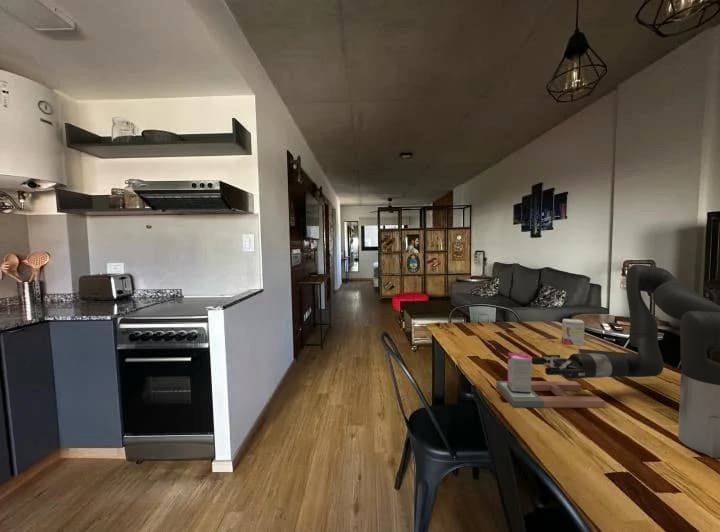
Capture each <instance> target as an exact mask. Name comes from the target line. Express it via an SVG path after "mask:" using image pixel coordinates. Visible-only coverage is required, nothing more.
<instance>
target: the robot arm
mask: <svg viewBox="0 0 720 532" xmlns="http://www.w3.org/2000/svg"><path fill="white" fill-rule="evenodd" d="M625 275H626V276H625V289H626V290H625V291H626V298H627V299H626V300H627V304H628V310H629V335H628V336H629V337H628V341H629V344H630V345H631V346H632V347H634V348H637V352H638V353H634V354H635V355H624V356H620V355H616V354H580V353H572V354H570V355H569V357H568V358H566V357H561V355H560V354H541V357H540V356H539V357H532V358H531V359H532V365H534V366H535V365H537V366H539V365H545V366H546V367H545V369H544V370H545V372H544V373H545V375H547V376H560V377H564V378H565V379H566V380H567V379H570V380H571V379H573V380H574V379H593V378H594V379H600V378H601V379H603V378H619V377H626V378H642V377H643V378H644V377H645V378H647V377H657V376H659V375H660V374H662V372H663V371H664V368H665V367H664V365H665V363H664V362H665V361H664V360H663V356H662V352H661V350H660V347H659V344H658V340H659V336H658V335H659V326H658V325H659V324H658V322H657V319H656V318H655V315H654V314H653V313H652V311H651V309H650V308H649V307H648V306H647V304H646V303H645V301H644V299H643V297H642V292H645V293H648V294H649V293H650V294H652V299H653V302H654V304H655V305H656V306H657V307H658V308H659V309H660V311H662V312H663V313H664V314H665V315H667V316H669V317H670V318H673V319H675V320H677V321H680V323H679V324H680V325H679V340H680V343H679V344H680V354H679V355H680V365H681V366H680V367H681V368H680V369H681V370H680V388H679V389H680V390H679V406H678V407H679V409H678V410H679V411H678V429H677V430H678V432H677V438H678V440H679V442H681V443H682V444H683V445H685V446H686V447H688V448H689V449H692V450H694V451H696V452H699V453H702V454H704V455H707V456H708V457H710V458H711V459H713V458H714V459H715V458H716V459H717V458H718V459H719V458H720V362H717V361H714V360H712V359H710V358H708V355H707V351H710V352H720V305H718V304H716V303H714V302H713V301H711V300H710V299H708V298H706V297H704V295H703V296H702V295H701V294H700V293H698V292H697V291H695V290H694V289H692V288H691V287H690V286H687V285H685V283H683V282H681V281H679V280H678V279H677V278H676V277H675V276H674V275H673V274H672V273H671V272H670V271H669V270H667V269H665V268H662V267H657V266H650V265H646V264H637V263H636V264H633V265H631V266H630V267H629V269H628V270H627V272H626V274H625ZM548 366H549V367H548Z"/></svg>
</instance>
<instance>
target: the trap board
mask: <svg viewBox="0 0 720 532" xmlns="http://www.w3.org/2000/svg"><path fill="white" fill-rule="evenodd" d="M581 387H582V385H581V384H580V383H578V382H577V381H576V380H555V381H554V380H550V381H549V380H545V381H544V380H539V381H538V380H536V381H535V380H531V393H530V394H526V393H512V392H511V390H510V389H509V387H508V386H507V380H497V381H496V388H497V389H498V391H500V393H501V394H502V395H503V396H504V397H505V398H506V400H507V401H508V402H509V404H510V405H512V407H513V408H586V409H587V408H593V409H594V408H598V409H599V408H602V409H603V408H605V403H606V401H605V400H603V399H602V398H600V397H599V396H598V395H597V396H594V395H593V396H592V395H590V396H585V395H584V396H583V395H582V396H579V395H577V396H575V395H574V396H572V395H570V394H569V393H568V391H569V392H570V391H571V392H572V391H575V392H580V391H581V390H582V388H581ZM536 391H537V392H541V391H542V392H543V391H545V392H547V391H549V392H551V393H553V394H554V396H550V395H549V396H547V395H545V396H540V395H538V394H537V393H536Z"/></svg>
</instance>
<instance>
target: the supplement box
mask: <svg viewBox="0 0 720 532" xmlns="http://www.w3.org/2000/svg"><path fill="white" fill-rule="evenodd" d="M532 365H533V364H532V358H531V357H530V356H529V355H527V353H524V352H523V353H522V352H519V353H518V352H508V353H507V376H506V379H507V380H506V381H507V386H508V387H509V389H510V390H511V392H512V393H526V394H530V393H531V381H532Z"/></svg>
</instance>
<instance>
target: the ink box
mask: <svg viewBox="0 0 720 532" xmlns="http://www.w3.org/2000/svg"><path fill="white" fill-rule="evenodd" d="M561 322H562V323H561V325H562V326H561V343H563V345H568V346H569V345H570V346H583V347H584V345H585V322H584V321H583V319H574V318H573V319H572V318H563V319H562V321H561Z"/></svg>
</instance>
